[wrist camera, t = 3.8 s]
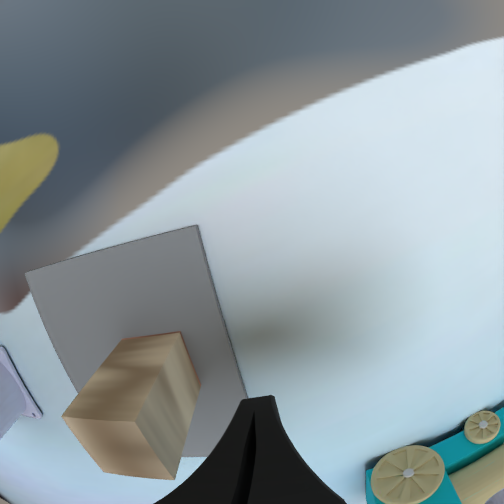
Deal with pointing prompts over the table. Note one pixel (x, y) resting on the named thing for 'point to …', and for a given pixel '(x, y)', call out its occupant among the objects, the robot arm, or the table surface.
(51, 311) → the slate mat
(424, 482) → the toy train
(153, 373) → the maple block
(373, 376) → the table surface
